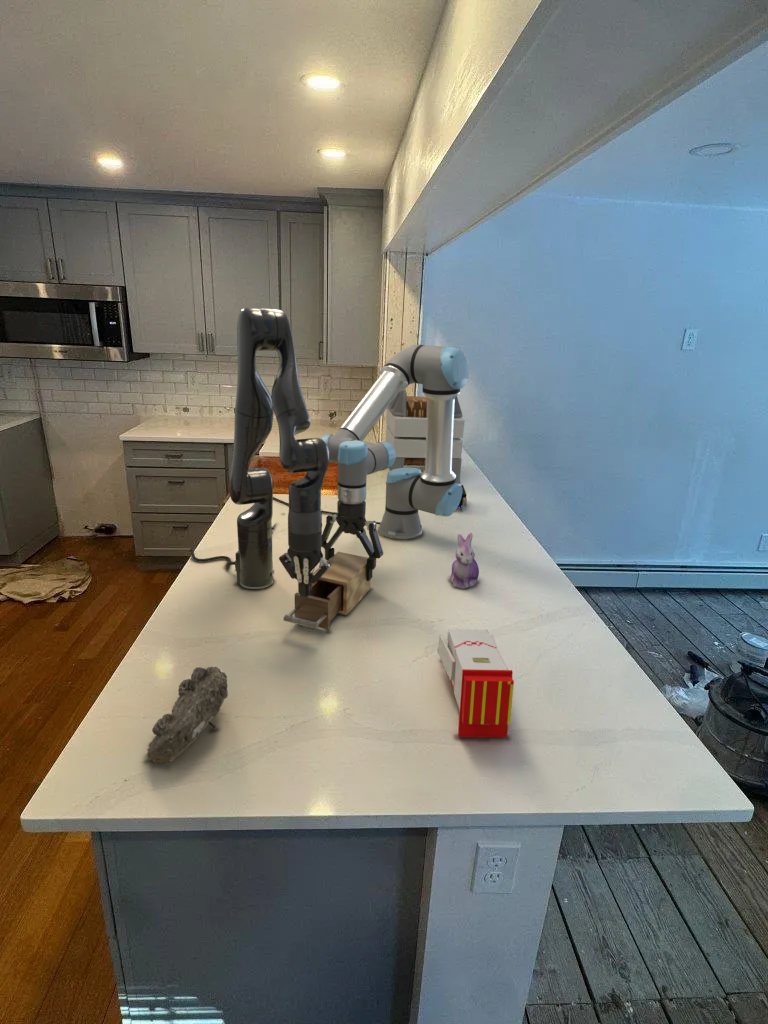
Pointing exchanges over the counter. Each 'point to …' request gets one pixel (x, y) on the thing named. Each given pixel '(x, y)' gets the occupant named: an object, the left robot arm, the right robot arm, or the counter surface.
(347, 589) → the cabinet
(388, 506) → the right robot arm
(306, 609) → the drawer
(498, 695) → the toy
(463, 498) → the figurine character
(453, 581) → the figurine
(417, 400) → the grey slatted crate
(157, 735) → the fossil
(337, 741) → the counter surface
